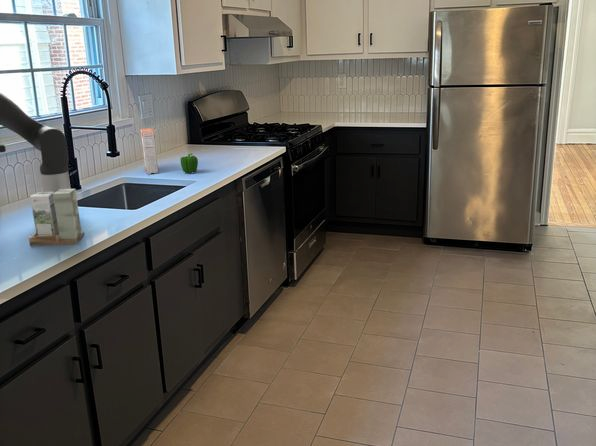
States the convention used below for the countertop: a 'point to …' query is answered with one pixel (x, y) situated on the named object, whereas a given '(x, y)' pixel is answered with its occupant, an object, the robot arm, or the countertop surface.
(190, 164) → the bell pepper
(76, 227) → the wooden tray with block
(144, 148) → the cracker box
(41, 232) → the syrup box
